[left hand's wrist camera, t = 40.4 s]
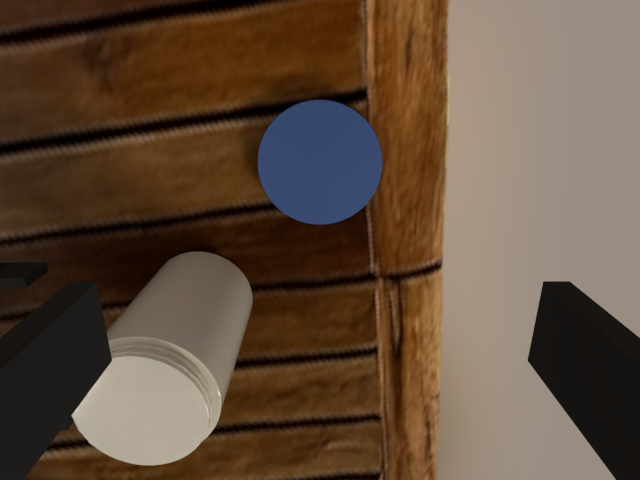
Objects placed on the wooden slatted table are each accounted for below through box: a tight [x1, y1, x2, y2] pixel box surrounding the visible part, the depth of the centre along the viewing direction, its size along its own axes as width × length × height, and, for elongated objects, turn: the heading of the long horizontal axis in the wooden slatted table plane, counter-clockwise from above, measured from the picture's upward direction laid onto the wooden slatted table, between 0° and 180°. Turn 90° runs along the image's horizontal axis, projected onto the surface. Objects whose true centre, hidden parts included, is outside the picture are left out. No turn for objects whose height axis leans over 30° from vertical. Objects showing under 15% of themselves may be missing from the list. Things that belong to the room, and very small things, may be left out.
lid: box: [258, 99, 382, 224], centre depth 37 cm, size 11×11×2 cm
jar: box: [71, 252, 253, 465], centre depth 35 cm, size 10×10×16 cm
